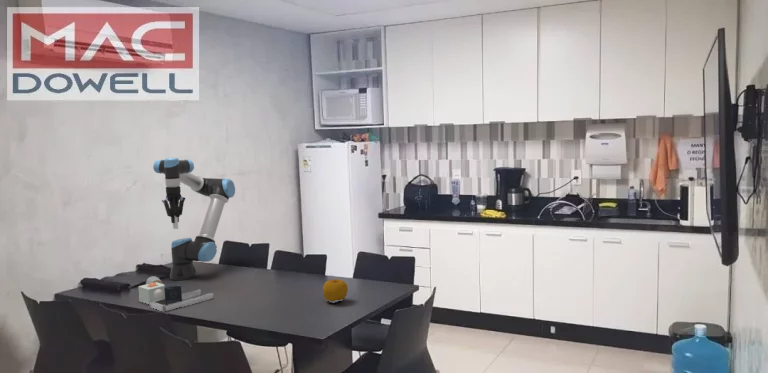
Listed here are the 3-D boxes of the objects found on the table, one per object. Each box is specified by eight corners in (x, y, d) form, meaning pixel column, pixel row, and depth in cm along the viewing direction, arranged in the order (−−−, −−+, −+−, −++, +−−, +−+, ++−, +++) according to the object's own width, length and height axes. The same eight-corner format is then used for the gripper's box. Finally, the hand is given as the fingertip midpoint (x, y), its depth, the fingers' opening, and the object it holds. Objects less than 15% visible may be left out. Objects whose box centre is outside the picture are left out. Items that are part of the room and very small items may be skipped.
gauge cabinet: (157, 296, 308) (156, 282, 307) (167, 300, 301) (166, 285, 300) (139, 301, 300) (138, 286, 299) (149, 305, 294) (148, 289, 293)
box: (181, 302, 297) (180, 282, 296) (182, 305, 292) (181, 285, 290) (165, 304, 293) (163, 284, 292) (165, 307, 288) (164, 287, 287)
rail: (199, 294, 311) (199, 289, 311) (213, 298, 303) (212, 293, 303) (150, 307, 289) (150, 301, 289) (163, 312, 281) (163, 306, 281)
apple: (351, 299, 298) (351, 277, 297) (341, 307, 286) (341, 284, 285) (329, 297, 302) (328, 276, 301) (318, 304, 290) (317, 282, 289)
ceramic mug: (150, 294, 313) (150, 280, 312) (145, 290, 319) (145, 277, 319) (170, 290, 320) (169, 277, 319) (165, 287, 326) (164, 274, 325)
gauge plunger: (154, 295, 303) (153, 282, 302) (158, 296, 301) (157, 283, 300) (148, 296, 300) (147, 283, 300) (151, 298, 298) (150, 284, 297)
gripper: (179, 184, 324) (182, 226, 327) (158, 187, 314) (161, 229, 317) (187, 185, 319) (190, 227, 322) (165, 187, 309) (168, 231, 312)
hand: (175, 228), depth 319 cm, fingers closed
